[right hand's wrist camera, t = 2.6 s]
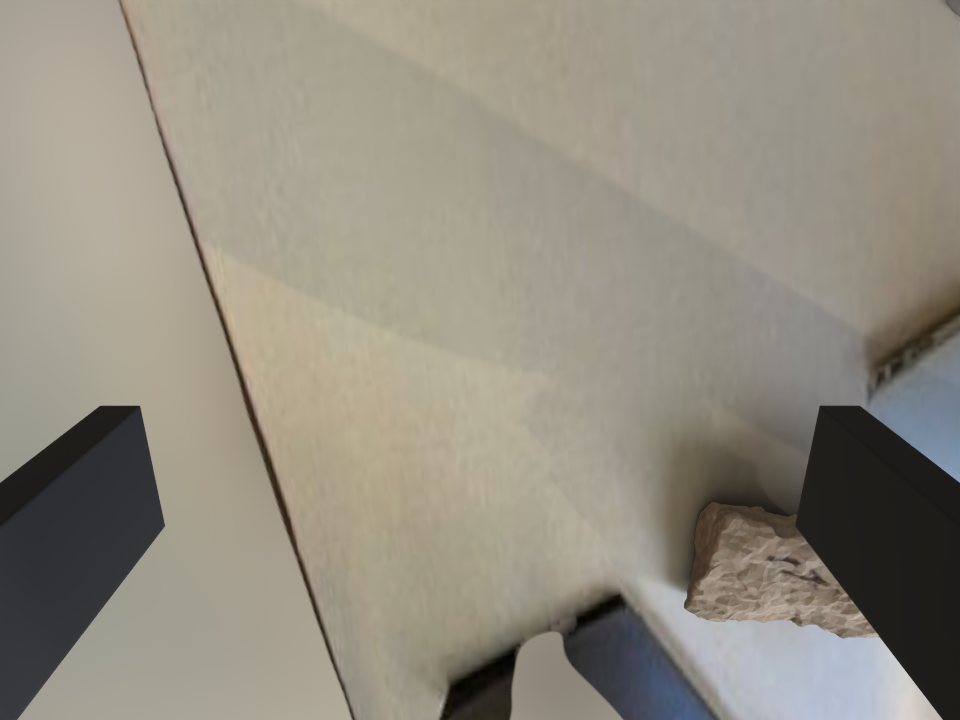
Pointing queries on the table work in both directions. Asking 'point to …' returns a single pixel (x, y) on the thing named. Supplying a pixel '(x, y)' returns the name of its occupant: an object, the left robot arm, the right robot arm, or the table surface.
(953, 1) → the bottle
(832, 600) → the stone
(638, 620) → the table surface
